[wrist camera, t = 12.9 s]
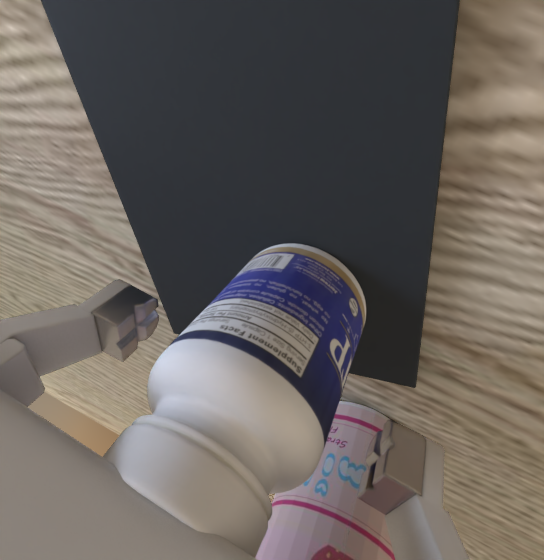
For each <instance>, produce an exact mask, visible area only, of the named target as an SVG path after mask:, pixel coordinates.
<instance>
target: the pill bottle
mask: <svg viewBox="0 0 544 560" xmlns="http://www.w3.org/2000/svg"><path fill="white" fill-rule="evenodd" d="M365 320H366V302H365V298H364V295H363V292H362V289H361V287H360V285H359V283H358V282H357V280H356V278H355V277H354V276H353V274H352V273H351V272H350V271H349V270H348V269H347V267H345V266H344V265H343V264H342V263H341V262H340V261H339V260H337V259H336V258H334V257H333V256H331V255H330V254H328V253H326V252H324V251H322V250H320V249H317V248H314V247H311V246H307V245H303V244H295V243H288V244H279V245H275V246H272V247H269V248H267V249H265V250H263V251H261V252H260V253H258V254H257V255H256V256H255V257H254V258H253V259H252V260H251V261H249V262H248V264H247V265H246V266H245V267H244V268H243V269H242V270H241V271H240V272H239V273H238V274H237V275H236V277H235V278H234V279H233V280H232V281H231V282H230V283H229V284H228V285H227V286H226V287H225V288H224V289H223V290H222V291H221V292H220V294H219V295H218V296H217V297H216V298H215V299H214V300H213V301H212V302H211V303H210V304H209V305H208V306H207V307H206V308H205V309H204V310H203V311H202V312H201V313H200V314H199V316H197V317H196V318H195V319H194V320H193V321H192V323H191V324H190V325H189V326H188V327H187V328H186V329H185V330H184V331H183V332H182V333H181V334H180V335H179V336H178V337H177V338H176V339H175V340H174V341H173V342H172V343H171V344H170V345H169V346H168V347H167V349H166V350H165V351H164V352H163V353H162V354H161V355H160V357H159V358H158V359H157V361H156V362H155V364H154V366H153V368H152V370H151V372H150V375H149V378H148V385H147V397H148V402H149V406H150V409H151V412H152V415H144V416H141V417H138V418H137V419H136V420H135V421H134V422H133V423H132V425H131V426H129V427H128V428H126V429H125V430H124V431H123V432H122V433H121V435H120V436H119V437H118V438H117V440H116V441H115V442H114V443H113V445H112V446H111V447H110V448H109V449H108V451H107V452H106V453H105V455H104V456H103V458H105V459H106V460H108V461H109V462H111V463H112V464H114V465H115V467H116V468H117V470H118V472H119V473H120V475H121V477H122V479H123V480H124V481H125V482H126V483H127V484H128V485H129V486H130V487H132V488H133V489H134V490H136V491H137V492H138V493H140V494H141V495H143V496H144V497H146V498H147V499H149V500H150V501H152V502H153V503H155V504H156V505H158V506H159V507H161V508H162V509H164V510H165V511H167V512H168V513H170V514H171V515H172V516H174V517H175V518H177V519H178V520H180V521H181V522H183V523H184V524H186V525H188V526H190V527H191V528H193V529H195V530H196V531H200V532H204V533H210V534H216V535H219V536H221V537H224V538H225V539H227V540H229V541H230V542H232V543H233V544H235V545H236V546H238V547H239V548H241V549H242V550H244V551H245V552H247V553H248V554H250V555H251V556H253V557H254V558H255V557H256V555H257V552H258V550H259V548H260V545H261V543H262V541H263V538H264V536H265V534H266V532H267V529H268V521H269V520H270V518H271V516H272V504H271V501H270V498H269V496H268V495H269V494H275V493H283V492H286V491H290V490H292V489H295V488H297V487H298V486H300V485H301V484H303V483H304V482H306V481H307V480H308V479H309V478H310V477H311V475H312V474H313V473H314V471H315V469H316V468H317V466H318V464H319V461H320V458H321V456H322V453H323V450H324V447H325V444H326V441H327V438H328V435H329V432H330V428H331V425H332V422H333V419H334V416H335V413H336V410H337V407H338V404H339V401H340V398H341V395H342V392H343V388H344V385H345V382H346V379H347V376H348V373H349V370H350V367H351V364H352V361H353V358H354V355H355V352H356V349H357V346H358V343H359V340H360V337H361V334H362V330H363V327H364V324H365Z"/></svg>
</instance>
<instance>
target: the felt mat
mask: <svg viewBox="0 0 544 560" xmlns="http://www.w3.org/2000/svg"><path fill="white" fill-rule="evenodd" d="M41 2H42V4H43V7H44V9H45V12H46V14H47V17H48V19H49V22H50V24H51V27H52V29H53V32H54V34H55V37H56V39H57V42H58V44H59V47H60V49H61V52H62V54H63V57H64V59H65V62H66V64H67V67H68V69H69V72H70V74H71V77H72V79H73V82H74V84H75V87H76V89H77V92H78V94H79V97H80V99H81V102H82V104H83V107H84V109H85V112H86V114H87V117H88V119H89V122H90V124H91V127H92V129H93V132H94V134H95V137H96V139H97V142H98V144H99V147H100V149H101V152H102V154H103V157H104V159H105V162H106V164H107V167H108V169H109V172H110V174H111V177H112V179H113V182H114V184H115V187H116V189H117V192H118V194H119V197H120V199H121V202H122V204H123V207H124V209H125V212H126V214H127V217H128V219H129V222H130V224H131V227H132V229H133V232H134V234H135V237H136V239H137V242H138V244H139V247H140V249H141V252H142V254H143V257H144V259H145V262H146V264H147V267H148V269H149V272H150V274H151V277H152V279H153V282H154V284H155V287H156V289H157V292H158V294H159V297H160V299H161V302H162V304H163V307H164V309H165V312H166V314H167V317H168V319H169V322H170V324H171V327H172V329H173V332H174V333H175V334H179V335H180V334H181V333H182V332H183V331H184V330H185V329H186V328H187V327H188V326H189V325H190V324H191V323H192V321H193V320H194V319H195V318H196V317H197V316H199V314H200V313H201V312H202V311H203V310H204V309H205V308H206V307H207V306H208V305H209V304H210V303H211V302H212V301H213V300H214V299H215V298H216V297H217V296H218V295H219V294H220V292H221V291H222V290H223V289H224V288H225V287H226V286H227V285H228V284H229V283H230V282H231V281H232V280H233V279H234V278H235V277H236V275H237V274H238V273H239V272H240V271H241V270H242V269H243V268H244V267H245V266H246V265H247V264H248V262H249V261H251V260H252V259H253V258H254V257H255V256H256V255H257V254H258V253H260V252H261V251H263V250H265V249H267V248H269V247H272V246H275V245H279V244H288V243H295V244H303V245H307V246H311V247H314V248H317V249H320V250H322V251H324V252H326V253H328V254H330V255H331V256H333V257H334V258H336V259H337V260H339V261H340V262H341V263H342V264H343V265H344V266H345V267H347V269H348V270H349V271H350V272H351V273H352V274H353V276H354V277H355V278H356V280H357V282H358V283H359V285H360V287H361V289H362V292H363V295H364V298H365V302H366V320H365V324H364V327H363V330H362V334H361V337H360V340H359V343H358V346H357V349H356V352H355V355H354V358H353V361H352V364H351V367H350V370H349V373H351V374H356V375H360V376H364V377H369V378H373V379H378V380H382V381H387V382H391V383H395V384H400V385H404V386H409V387H413V388H415V387H416V381H417V372H418V363H419V354H420V345H421V337H422V328H423V319H424V310H425V301H426V293H427V284H428V275H429V266H430V257H431V249H432V240H433V231H434V222H435V213H436V205H437V196H438V187H439V178H440V169H441V161H442V152H443V143H444V134H445V125H446V116H447V108H448V99H449V90H450V81H451V72H452V64H453V55H454V46H455V37H456V28H457V20H458V11H459V2H460V0H41Z"/></svg>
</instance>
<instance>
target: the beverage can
mask: <svg viewBox="0 0 544 560" xmlns="http://www.w3.org/2000/svg"><path fill="white" fill-rule="evenodd" d="M387 420H390V419H389V418H388V417H386V416H385V415H383V414H381V413H379V412H378V411H376V410H374V409H371V408H369V407H366V406H364V405H360V404H356V403H352V402H345V401H339V404H338V407H337V410H336V413H335V416H334V419H333V422H332V425H331V428H330V432H329V435H328V438H327V441H326V444H325V447H324V450H323V453H322V456H321V458H320V461H319V464H318V466H317V468H316V469H315V471H314V473H313V474H312V475H311V477H310V478H309V479H308V480H307V481H306V482H304V483H303V484H301V485H300V486H298V487H297V488H295V489H292V490H290V491H286V492H283V493H276V494H275V497H274V499H273V502H272V516H271V518H270V520H269V521H268V529H267V532H266V534H265V536H264V538H263V541H262V543H261V545H260V548H259V550H258V552H257V555H256V557H255V558H256V559H257V560H395V557H394V553H393V549H392V545H391V541H390V537H389V533H388V529H387V525H386V521H385V517H384V516H385V514H383V513H381V512H380V511H378V510H376V509H375V508H373V507H371V506H370V505H368V504H367V503H365V502H363V501H362V500H360V499H358V498H357V495H358V490H359V485H360V481H361V476H362V474H363V473H364V472H365V471H366V470H367V469H368V467H367V464H366V461H365V458H366V454H367V450H368V447H369V444H370V442H371V440H372V438H373V436H374V435H375V434H376V433H377V432H378V431H383V427H384V424H385V423H386V422H387Z"/></svg>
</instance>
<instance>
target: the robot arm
mask: <svg viewBox="0 0 544 560" xmlns="http://www.w3.org/2000/svg"><path fill="white" fill-rule="evenodd" d="M157 307H158V299H156V298H154V297H152V296H150V295H148V294H147V293H145V292H143V291H141V290H139V289H137V288H135V287H134V286H132V285H130V284H128V283H126V282H124V281H122V280H120V279H119V280H115V281H113V282H112V283H110V284H109V285H107V286H106V287H104V288H103V289H102V290H100V291H99V292H97V293H96V294H94V295H93V296H91V297H90V298H89V299H87V300H86V301H84V302H83V303H81V304H80V305H78V306H77V305H75V304H73V305H68V306H63V307H59V308H54V309H49V310H45V311H40V312H35V313H30V314H26V315H21V316H16V317H11V318H7V319H2V320H0V560H257V559H256V558H254V557H253V556H251V555H250V554H248V553H247V552H245V551H244V550H242V549H241V548H239V547H238V546H236V545H235V544H233V543H232V542H230V541H229V540H227V539H225V538H224V537H221V536H219V535H216V534H210V533H204V532H200V531H196V530H195V529H193V528H191V527H190V526H188V525H186V524H184V523H183V522H181V521H180V520H178V519H177V518H175V517H174V516H172V515H171V514H170V513H168V512H167V511H165V510H164V509H162V508H161V507H159V506H158V505H156V504H155V503H153V502H152V501H150V500H149V499H147V498H146V497H144V496H143V495H141V494H140V493H138V492H137V491H136V490H134V489H133V488H132V487H130V486H129V485H128V484H127V483H126V482H125V481H124V480H123V479H122V477H121V475H120V473H119V472H118V470H117V468H116V467H115V465H114V464H112V463H111V462H109V461H108V460H106V459H105V458H103V457H101V456H100V455H98V454H97V453H96V452H94V451H92V450H91V449H89V448H88V447H86V446H85V445H83V444H82V443H80V442H79V441H77V440H76V439H74V438H73V437H71V436H70V435H68V434H67V433H65V432H64V431H62V430H61V429H59V428H58V427H56V426H55V425H53V424H52V423H50V422H49V421H47V420H46V419H44V418H42V417H41V416H40V415H38V414H36V413H35V412H33V411H32V410H31V409H29V408H28V406H29V405H30V404H31V403H33V402H34V401H35V400H36V399H37V398H38V397H39V396H41V395H42V394H43V393H44V390H45V387H44V385H43V383H42V381H41V379H40V376H43V375H45V374H48V373H50V372H53V371H56V370H58V369H61V368H63V367H66V366H68V365H71V364H74V363H76V362H79V361H81V360H84V359H87V358H89V357H92V356H94V355H97V354H99V353H102V351H103V352H105V353H107V354H109V355H111V356H112V357H114V358H116V359H118V360H120V361H122V362H124V361H125V360H126V359H127V358H128V357H129V356H130V355H131V354H132V353H133V352H134V351H135V350H136V349H137V347H138V342H140V341H143V340H146V339H148V338H149V337H150V336H151V335H152V334H153V332H154V330H155V329H156V327H157V325H158V321H159V315H158V313H157V312H156V310H155V309H156V308H157ZM444 456H445V451H444V448H443V446H442V445H440V444H438V443H436V442H434V441H432V440H430V439H428V438H426V437H424V436H423V435H421V434H419V433H417V432H415V431H413V430H411V429H409V428H407V427H405V426H403V425H401V424H399V423H397V422H395V421H393V420H391V419H390V420H387V422H386V423H385V424H384V427H383V431H378V432H377V433H376V434H375V435H374V436H373V438H372V440H371V442H370V444H369V447H368V450H367V454H366V458H365V461H366V464H367V467H368V469H367V470H366V471H365V472H364V473H363V474H362V476H361V481H360V485H359V490H358V495H357V498H358V499H360V500H362V501H363V502H365V503H367V504H368V505H370V506H371V507H373V508H375V509H376V510H378V511H380V512H381V513H383V514H385V516H384V517H385V521H386V525H387V529H388V533H389V537H390V541H391V545H392V549H393V553H394V557H395V560H470V559H469V557H468V554H467V552H466V550H465V548H464V545H463V543H462V541H461V539H460V536H459V534H458V532H457V530H456V527H455V525H454V523H453V521H452V518H451V516H450V514H449V512H448V511H446V510H445V509H443V493H444Z"/></svg>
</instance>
